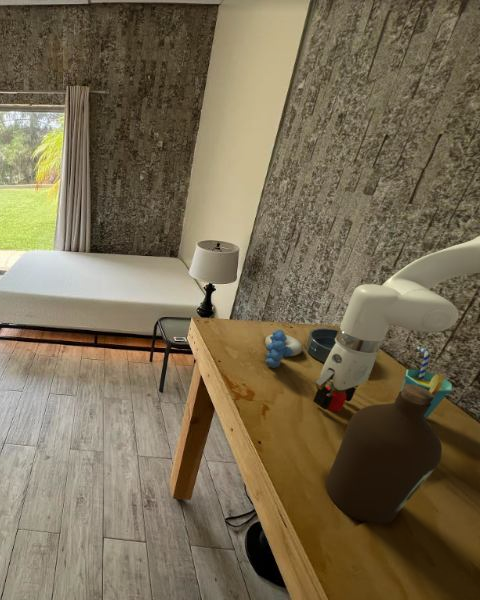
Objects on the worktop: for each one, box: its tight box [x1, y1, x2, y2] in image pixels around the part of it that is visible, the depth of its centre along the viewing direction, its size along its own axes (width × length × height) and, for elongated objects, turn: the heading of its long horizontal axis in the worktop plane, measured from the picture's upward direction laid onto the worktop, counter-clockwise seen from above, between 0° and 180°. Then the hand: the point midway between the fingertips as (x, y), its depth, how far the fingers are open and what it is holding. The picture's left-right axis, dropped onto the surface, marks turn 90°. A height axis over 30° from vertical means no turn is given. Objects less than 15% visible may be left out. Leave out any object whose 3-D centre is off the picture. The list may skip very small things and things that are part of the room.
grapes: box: [265, 329, 293, 368], centre depth 89 cm, size 12×7×12 cm, turn 152°
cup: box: [400, 346, 453, 420], centre depth 72 cm, size 14×8×15 cm, turn 156°
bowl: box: [304, 327, 339, 364], centre depth 95 cm, size 15×15×5 cm
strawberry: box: [325, 381, 347, 412], centre depth 76 cm, size 4×4×6 cm
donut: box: [264, 333, 303, 357], centre depth 99 cm, size 10×4×10 cm
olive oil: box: [325, 384, 442, 524], centre depth 51 cm, size 11×11×25 cm
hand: (331, 400), depth 77 cm, fingers open, 7 cm apart
